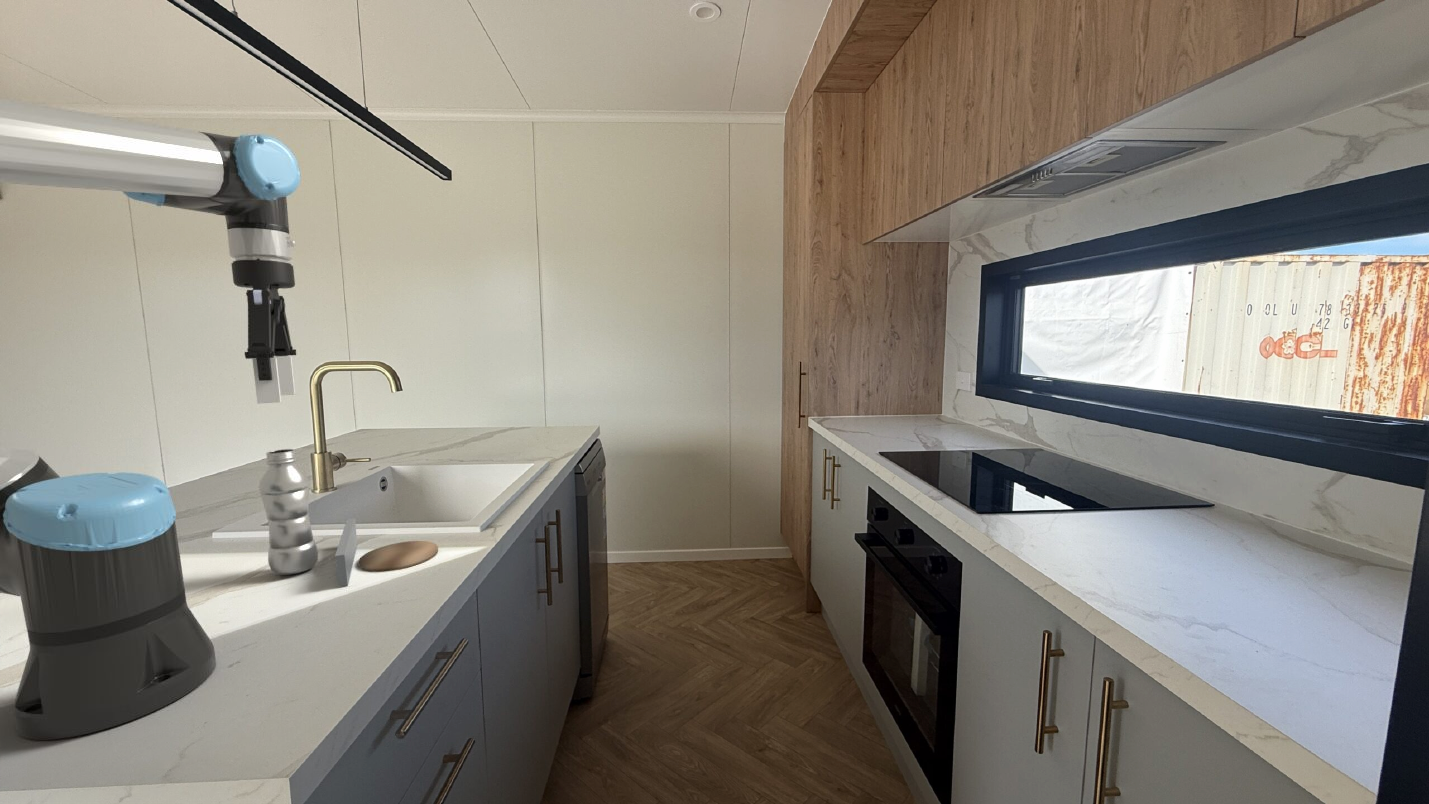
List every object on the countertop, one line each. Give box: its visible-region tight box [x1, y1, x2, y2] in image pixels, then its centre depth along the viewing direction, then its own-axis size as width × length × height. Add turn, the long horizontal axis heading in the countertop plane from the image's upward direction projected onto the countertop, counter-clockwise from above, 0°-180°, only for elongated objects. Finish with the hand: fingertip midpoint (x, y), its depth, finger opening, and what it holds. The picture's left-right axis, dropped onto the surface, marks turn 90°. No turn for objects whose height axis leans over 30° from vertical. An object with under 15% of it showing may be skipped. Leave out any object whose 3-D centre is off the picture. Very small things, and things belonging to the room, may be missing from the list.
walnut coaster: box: [358, 540, 439, 572], centre depth 99 cm, size 12×12×1 cm
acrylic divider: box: [334, 517, 358, 588], centre depth 96 cm, size 1×20×5 cm, turn 28°
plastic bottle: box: [258, 448, 319, 576], centre depth 93 cm, size 6×7×20 cm
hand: (277, 398), depth 91 cm, fingers open, 13 cm apart
